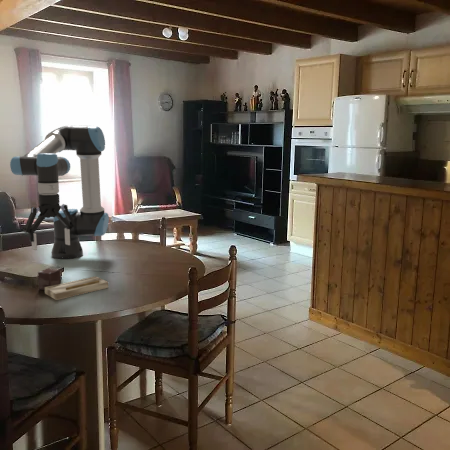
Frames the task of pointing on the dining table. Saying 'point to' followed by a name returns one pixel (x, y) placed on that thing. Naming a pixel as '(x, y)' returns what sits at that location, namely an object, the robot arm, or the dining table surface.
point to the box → (48, 278)
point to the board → (75, 288)
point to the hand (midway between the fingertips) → (51, 247)
